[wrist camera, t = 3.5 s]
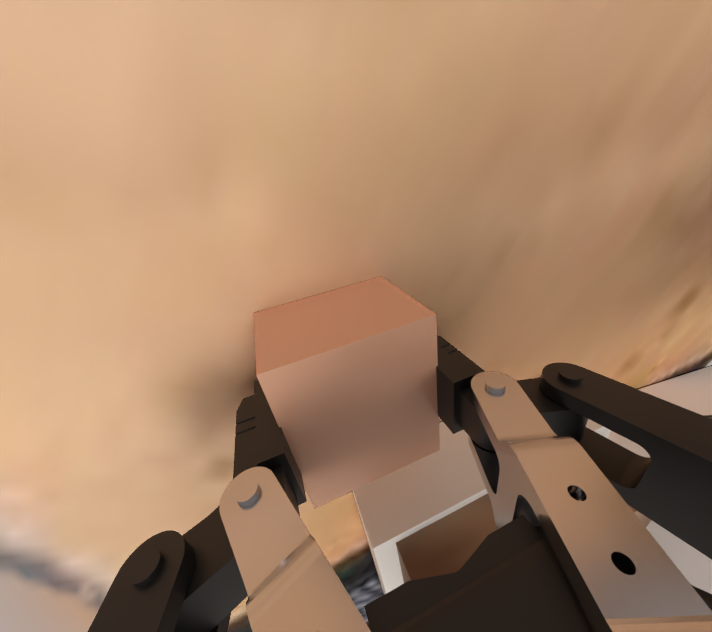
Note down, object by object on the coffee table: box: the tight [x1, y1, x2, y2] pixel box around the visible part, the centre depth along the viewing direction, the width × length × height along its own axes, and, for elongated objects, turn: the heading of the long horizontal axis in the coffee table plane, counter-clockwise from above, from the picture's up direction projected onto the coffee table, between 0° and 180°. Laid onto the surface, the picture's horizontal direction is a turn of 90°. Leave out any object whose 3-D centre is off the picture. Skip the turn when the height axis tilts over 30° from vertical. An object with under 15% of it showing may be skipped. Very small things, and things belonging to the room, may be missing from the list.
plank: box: [396, 494, 651, 583], centre depth 17 cm, size 12×20×3 cm, turn 10°
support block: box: [254, 276, 440, 509], centre depth 10 cm, size 5×6×4 cm
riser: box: [353, 419, 611, 595], centre depth 19 cm, size 14×18×4 cm
